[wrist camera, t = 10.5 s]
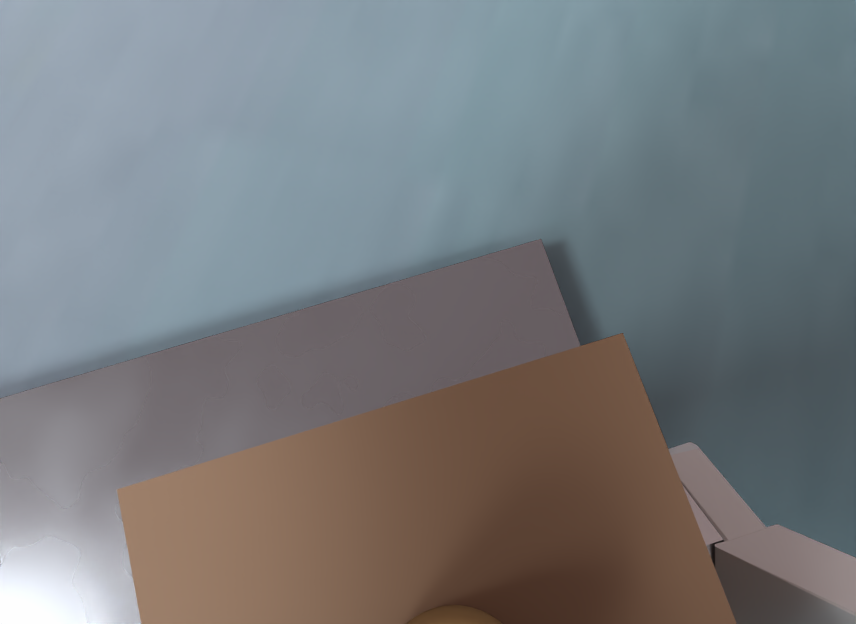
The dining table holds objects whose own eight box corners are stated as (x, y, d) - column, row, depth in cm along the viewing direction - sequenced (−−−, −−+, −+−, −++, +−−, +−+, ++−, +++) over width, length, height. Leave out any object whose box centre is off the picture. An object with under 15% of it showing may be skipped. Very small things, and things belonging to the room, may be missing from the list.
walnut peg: (371, 723, 13) (167, 1369, 3) (312, 493, 14) (33, 487, 5) (590, 649, 14) (982, 1055, 4) (516, 429, 15) (665, 293, 5)
